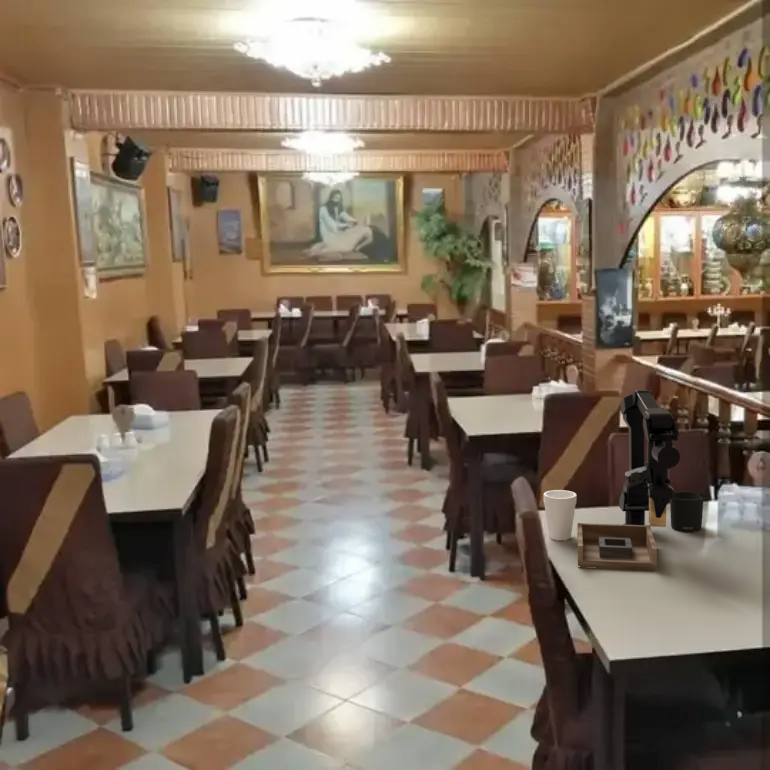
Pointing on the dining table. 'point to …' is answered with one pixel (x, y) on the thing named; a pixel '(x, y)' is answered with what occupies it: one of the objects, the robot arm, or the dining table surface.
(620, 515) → the dining table surface
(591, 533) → the inlet box
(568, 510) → the foam cup
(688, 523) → the pen holder
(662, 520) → the wooden block
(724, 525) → the dining table surface
